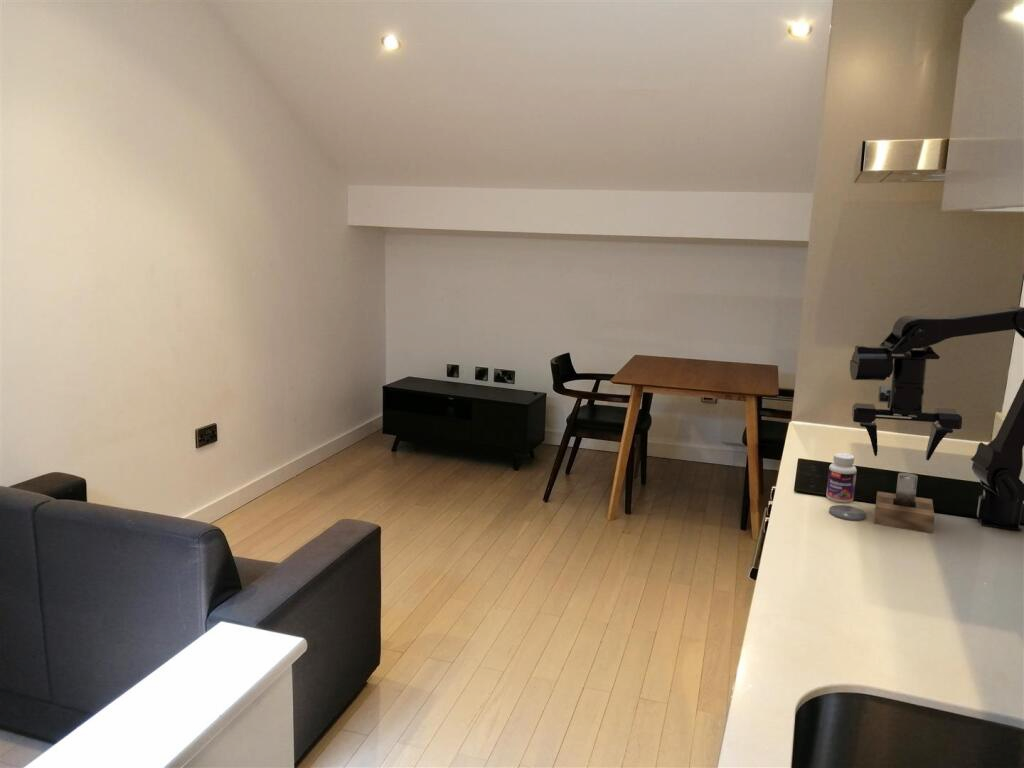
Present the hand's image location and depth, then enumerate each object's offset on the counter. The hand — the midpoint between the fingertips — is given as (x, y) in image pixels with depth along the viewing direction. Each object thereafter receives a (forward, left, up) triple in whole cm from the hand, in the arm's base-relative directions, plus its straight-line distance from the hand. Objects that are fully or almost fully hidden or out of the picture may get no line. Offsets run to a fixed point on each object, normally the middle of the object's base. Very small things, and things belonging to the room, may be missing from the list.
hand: (901, 457), depth 146 cm
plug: (-2, +1, -9) cm, 9 cm away
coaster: (+8, +3, -12) cm, 15 cm away
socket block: (-2, +1, -12) cm, 13 cm away
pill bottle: (+10, -6, -13) cm, 17 cm away
